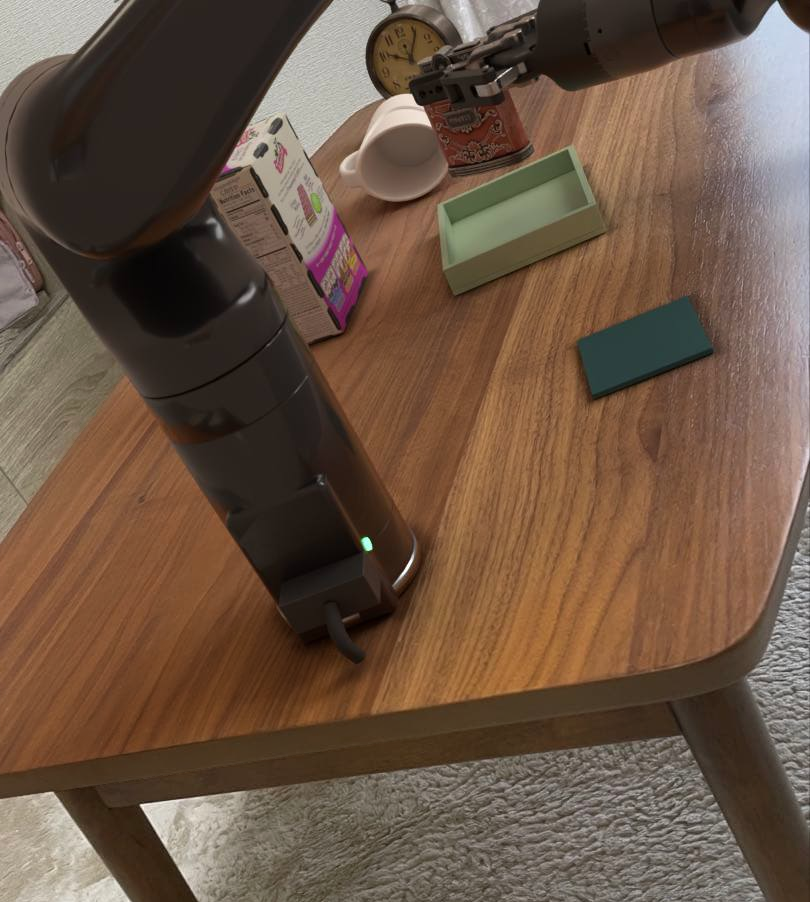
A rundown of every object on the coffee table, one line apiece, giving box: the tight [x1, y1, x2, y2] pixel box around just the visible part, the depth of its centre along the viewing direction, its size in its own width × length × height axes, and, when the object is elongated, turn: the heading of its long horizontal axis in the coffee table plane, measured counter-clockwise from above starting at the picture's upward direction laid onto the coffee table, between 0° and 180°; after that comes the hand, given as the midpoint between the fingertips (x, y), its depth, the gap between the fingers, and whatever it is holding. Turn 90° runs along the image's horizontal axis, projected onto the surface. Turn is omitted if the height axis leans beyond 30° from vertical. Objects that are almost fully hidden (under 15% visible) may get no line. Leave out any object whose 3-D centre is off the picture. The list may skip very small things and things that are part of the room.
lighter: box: [417, 39, 536, 179], centre depth 100 cm, size 8×3×10 cm, turn 59°
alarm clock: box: [364, 0, 464, 101], centre depth 141 cm, size 11×5×16 cm, turn 67°
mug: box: [338, 94, 449, 203], centre depth 126 cm, size 12×9×8 cm
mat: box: [576, 295, 715, 400], centre depth 82 cm, size 8×8×1 cm
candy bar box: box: [209, 111, 369, 346], centre depth 106 cm, size 11×5×16 cm, turn 168°
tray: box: [436, 144, 607, 297], centre depth 106 cm, size 15×13×2 cm
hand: (425, 81), depth 101 cm, fingers closed on lighter, 3 cm apart
